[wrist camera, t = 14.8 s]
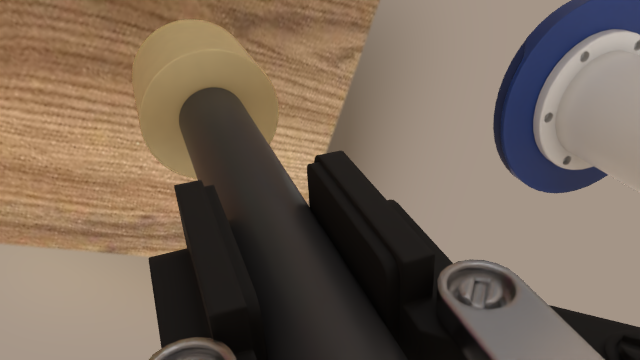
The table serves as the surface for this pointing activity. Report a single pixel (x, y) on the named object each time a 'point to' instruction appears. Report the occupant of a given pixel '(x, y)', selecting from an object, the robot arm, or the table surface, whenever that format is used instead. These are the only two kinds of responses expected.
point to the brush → (253, 190)
